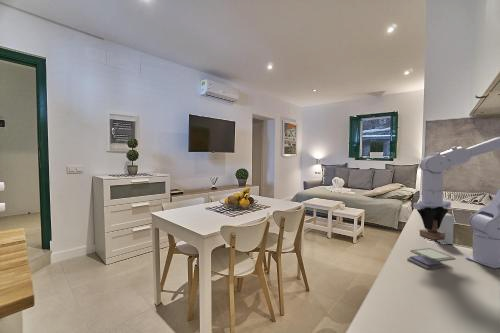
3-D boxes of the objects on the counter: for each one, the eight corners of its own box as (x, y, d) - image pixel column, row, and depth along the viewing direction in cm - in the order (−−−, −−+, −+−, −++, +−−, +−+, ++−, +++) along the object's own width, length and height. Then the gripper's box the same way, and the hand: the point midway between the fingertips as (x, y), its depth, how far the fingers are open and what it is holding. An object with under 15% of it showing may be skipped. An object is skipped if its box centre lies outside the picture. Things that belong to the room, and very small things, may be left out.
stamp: (430, 234, 84) (430, 217, 84) (445, 239, 79) (445, 221, 79) (419, 235, 83) (419, 218, 83) (433, 240, 78) (433, 222, 78)
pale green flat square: (429, 248, 88) (429, 247, 88) (455, 258, 79) (455, 257, 79) (410, 251, 86) (410, 249, 86) (434, 261, 77) (434, 259, 77)
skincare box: (453, 245, 92) (454, 215, 91) (441, 244, 92) (442, 215, 92) (444, 240, 98) (444, 212, 97) (432, 239, 98) (433, 211, 98)
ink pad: (423, 258, 80) (423, 254, 80) (445, 267, 73) (445, 263, 73) (407, 260, 78) (407, 256, 78) (427, 269, 71) (427, 265, 71)
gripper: (436, 188, 86) (436, 223, 86) (405, 189, 83) (405, 226, 83) (457, 190, 79) (456, 229, 80) (424, 192, 76) (424, 232, 76)
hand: (431, 228), depth 81 cm, fingers closed on stamp, 3 cm apart
